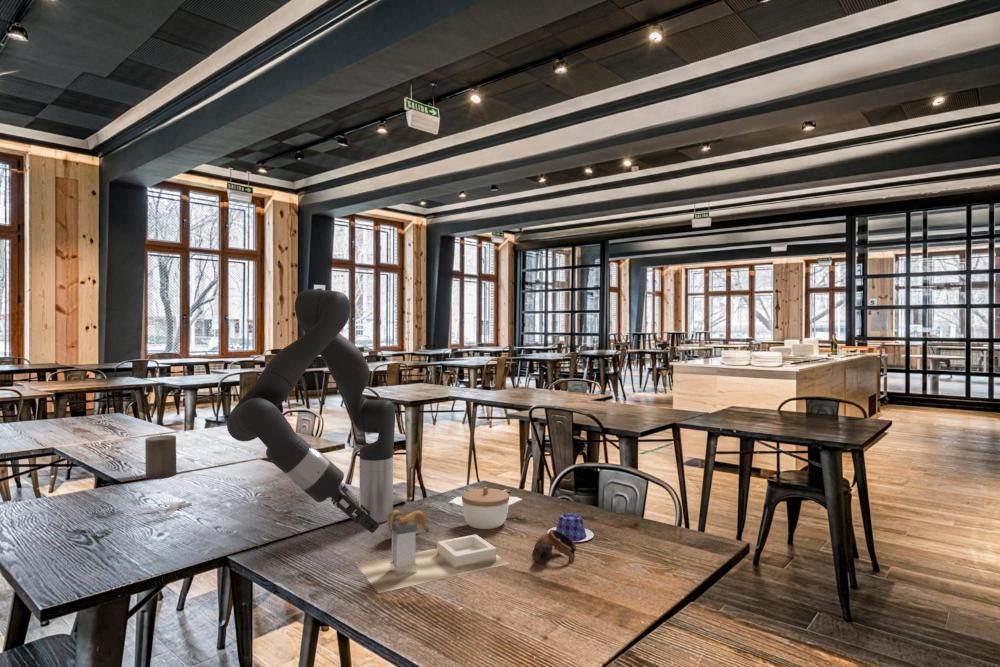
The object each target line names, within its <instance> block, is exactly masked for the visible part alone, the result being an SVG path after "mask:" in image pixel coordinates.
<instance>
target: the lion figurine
mask: <svg viewBox="0 0 1000 667" xmlns="http://www.w3.org/2000/svg"><path fill="white" fill-rule="evenodd" d="M405 517H407V518H408V519H410V520H411V521H412V522H414V523H415V524H416V532H417V530H418V525H419V526H420V527H421V528H423V529H424V531H425V533H429V532H430V528H429V525H428V524H427V517H426V514H425V513H424V511H422V510H414V511H412V512H410V513H408V514H405V513H403V512H402V511H400V510H399V509H393V511H392V512H390V514H389V515H388V520H387V521H386V522H387V526H388V529H389V531H390V532H391V533H392V522H394V521H400V518H405Z"/></svg>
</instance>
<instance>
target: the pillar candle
mask: <svg viewBox="0 0 1000 667" xmlns="http://www.w3.org/2000/svg"><path fill="white" fill-rule="evenodd" d="M176 436H177V435H172V434H167V435H162V433H160V435H155V436H151V437H150V436H149V437H146V438H145V441H144V442H145V447H144V448H145V457H144V458H145V463H144V464H145V478H146V479H151V480H152V479H153V480H154V479H157V480H158V479H166V478H170V477H174V476H176V475H177V471H178V470H177V468H178V467H177V437H176Z"/></svg>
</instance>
